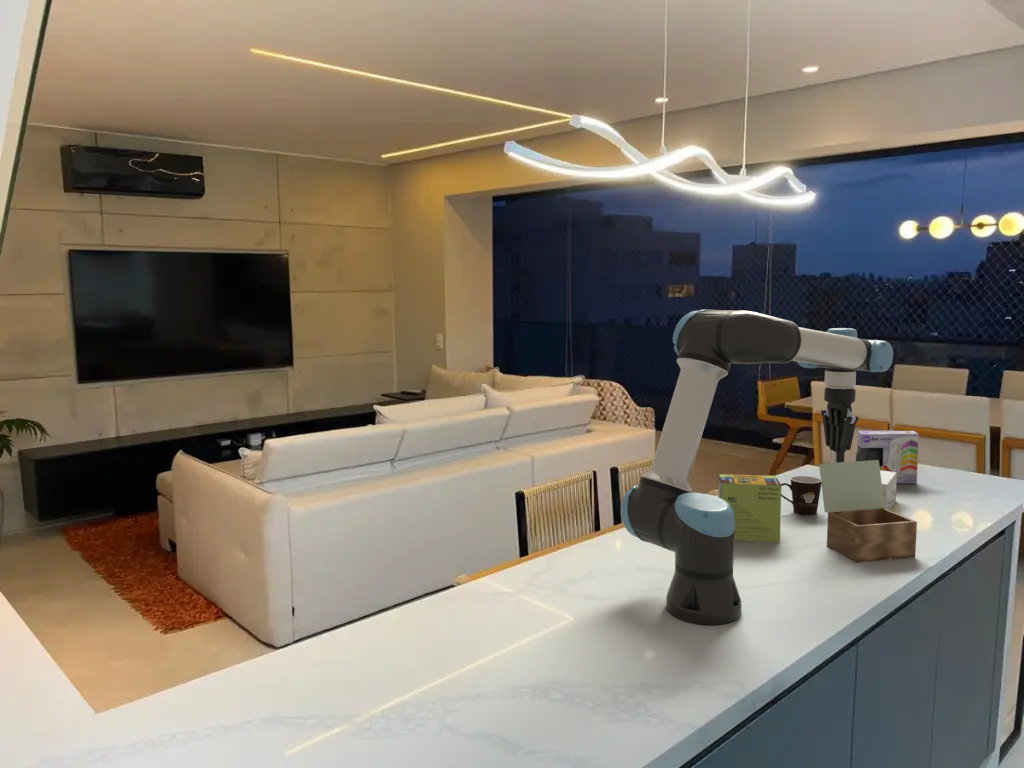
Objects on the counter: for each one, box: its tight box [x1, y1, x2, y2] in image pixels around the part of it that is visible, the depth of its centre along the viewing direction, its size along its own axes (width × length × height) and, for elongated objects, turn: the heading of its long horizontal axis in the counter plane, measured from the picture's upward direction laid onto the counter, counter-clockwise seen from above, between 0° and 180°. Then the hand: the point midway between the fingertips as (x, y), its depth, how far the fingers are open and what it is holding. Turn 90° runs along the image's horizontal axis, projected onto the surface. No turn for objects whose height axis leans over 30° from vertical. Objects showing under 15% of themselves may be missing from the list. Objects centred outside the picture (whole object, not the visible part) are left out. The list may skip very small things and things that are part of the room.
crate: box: [826, 508, 918, 564], centre depth 186 cm, size 16×12×9 cm
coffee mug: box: [780, 475, 822, 517], centre depth 221 cm, size 12×9×10 cm
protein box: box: [717, 474, 782, 543], centre depth 200 cm, size 10×15×16 cm
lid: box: [818, 460, 885, 513], centre depth 193 cm, size 17×12×1 cm
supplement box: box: [864, 471, 897, 510], centre depth 227 cm, size 17×13×9 cm
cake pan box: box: [855, 430, 919, 484], centre depth 252 cm, size 19×5×18 cm, turn 81°
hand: (836, 474), depth 199 cm, fingers closed
